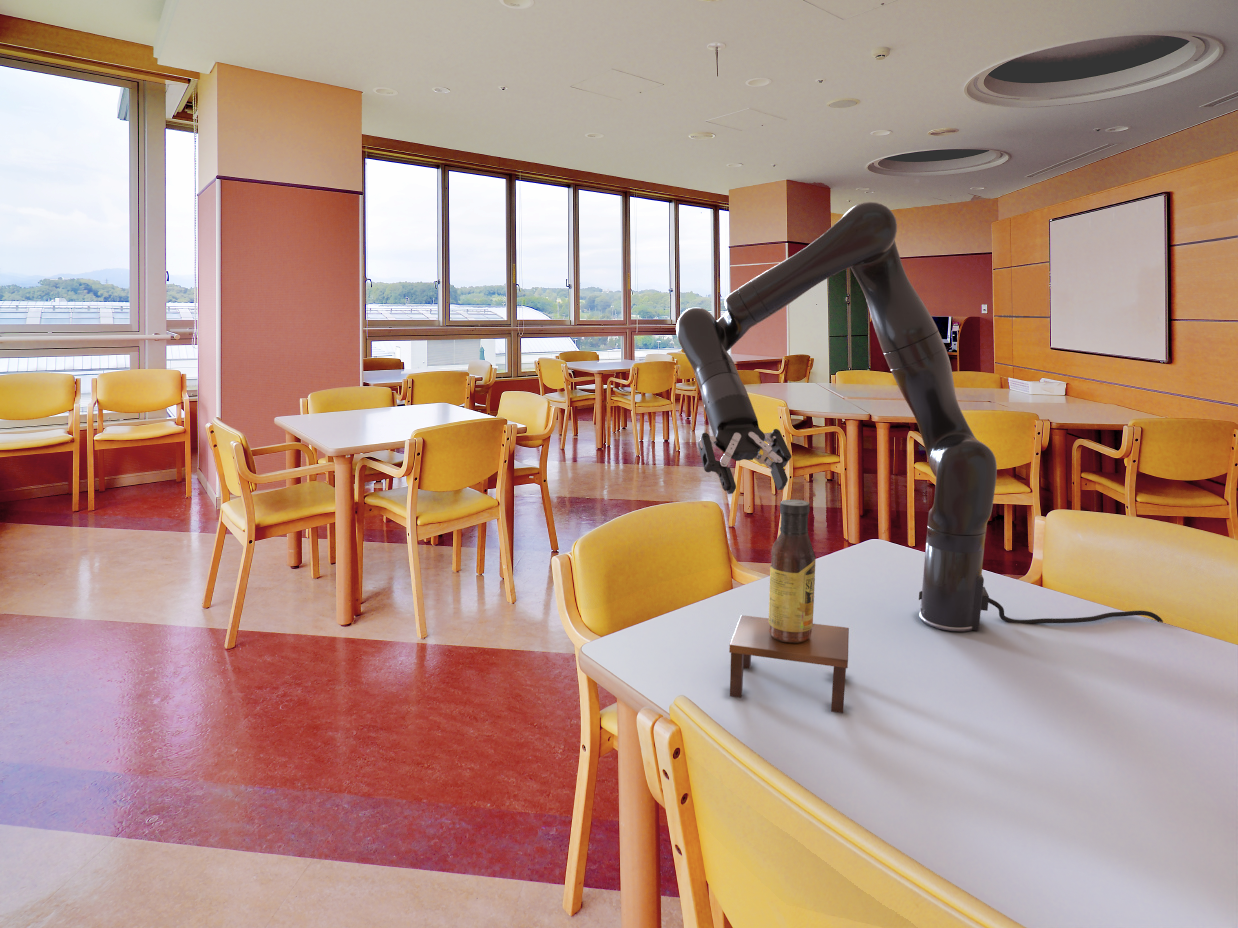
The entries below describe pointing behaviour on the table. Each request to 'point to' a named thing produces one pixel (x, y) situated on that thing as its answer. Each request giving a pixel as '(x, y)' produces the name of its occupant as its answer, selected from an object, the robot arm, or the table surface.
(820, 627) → the small brown wooden table
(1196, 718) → the table surface
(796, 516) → the sauce bottle
